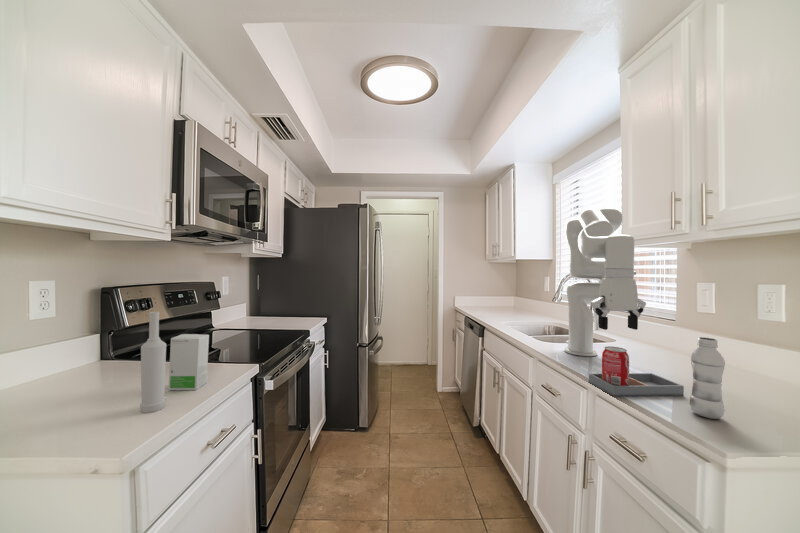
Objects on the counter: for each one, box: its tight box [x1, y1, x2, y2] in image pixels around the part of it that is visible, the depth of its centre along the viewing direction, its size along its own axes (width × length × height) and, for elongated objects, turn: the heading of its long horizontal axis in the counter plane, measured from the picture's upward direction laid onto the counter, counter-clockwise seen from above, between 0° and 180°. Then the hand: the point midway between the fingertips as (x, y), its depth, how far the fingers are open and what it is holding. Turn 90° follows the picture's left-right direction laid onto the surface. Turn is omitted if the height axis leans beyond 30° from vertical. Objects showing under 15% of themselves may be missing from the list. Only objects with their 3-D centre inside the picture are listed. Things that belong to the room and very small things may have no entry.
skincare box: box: [167, 333, 210, 391], centre depth 96 cm, size 8×7×16 cm
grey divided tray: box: [588, 372, 685, 398], centre depth 98 cm, size 11×22×3 cm, turn 93°
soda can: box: [601, 345, 630, 386], centre depth 98 cm, size 7×7×12 cm
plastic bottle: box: [689, 336, 726, 420], centre depth 80 cm, size 6×7×20 cm
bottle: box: [139, 311, 167, 414], centre depth 81 cm, size 5×5×25 cm
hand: (617, 328), depth 98 cm, fingers open, 9 cm apart
